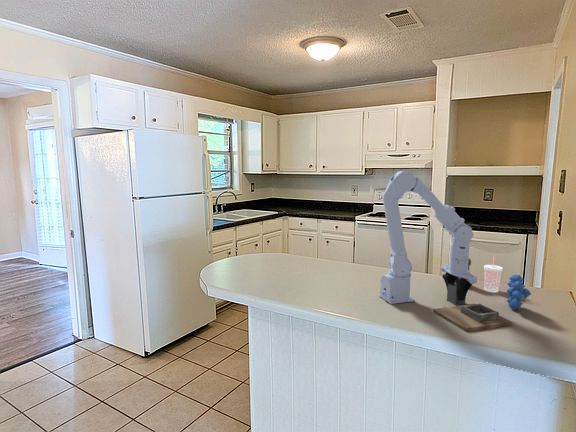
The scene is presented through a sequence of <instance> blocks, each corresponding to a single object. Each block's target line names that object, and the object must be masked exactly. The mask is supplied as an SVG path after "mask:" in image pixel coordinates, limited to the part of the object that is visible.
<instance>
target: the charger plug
mask: <svg viewBox="0 0 576 432" xmlns="http://www.w3.org/2000/svg"><path fill="white" fill-rule="evenodd" d="M446 290H447V289H446ZM446 292H447V293H446V301H447V302H449V303H451V304H453V305H454V306H460V305H466V297H465V299H464V300H460V301H459V300H458V296H457V294H458V290H457V285H456V282H455V283H450V284H448V290H447V291H446Z"/></svg>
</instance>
